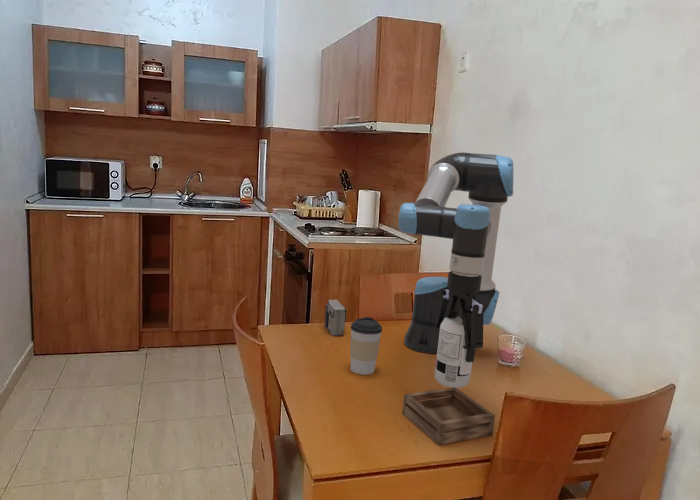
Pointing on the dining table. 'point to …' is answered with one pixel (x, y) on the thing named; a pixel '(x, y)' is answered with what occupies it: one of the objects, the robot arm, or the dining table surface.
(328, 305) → the camera
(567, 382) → the dining table surface
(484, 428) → the crate
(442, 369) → the supplement can
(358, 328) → the coffee cup
